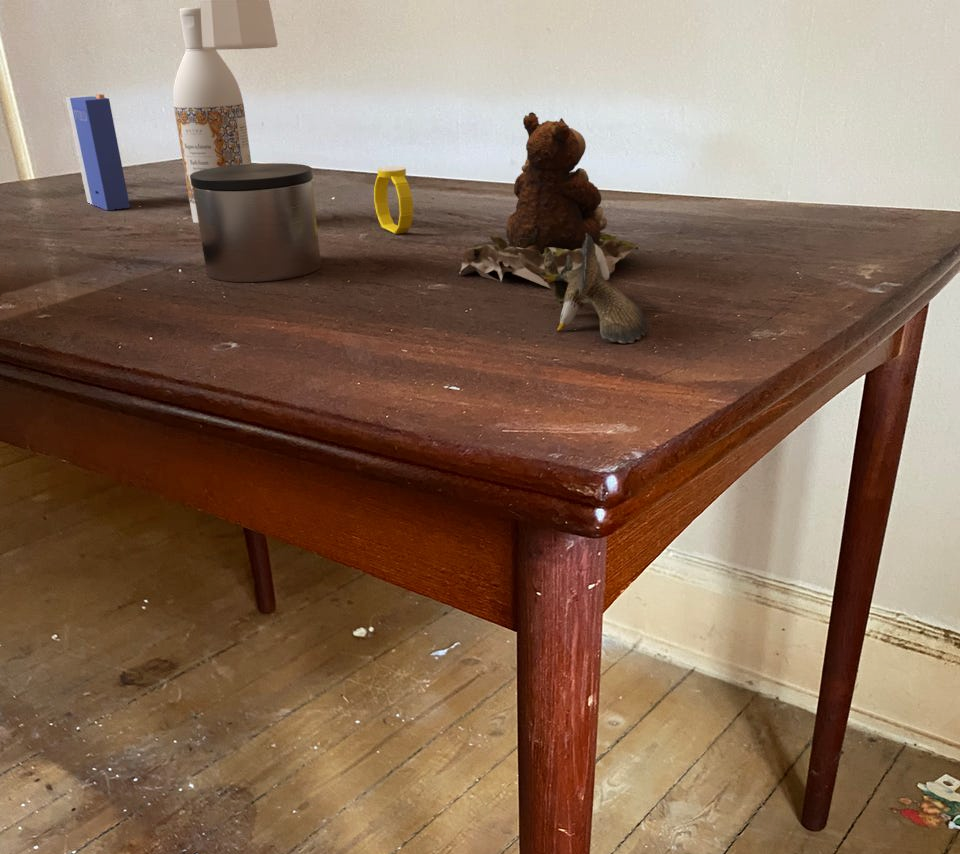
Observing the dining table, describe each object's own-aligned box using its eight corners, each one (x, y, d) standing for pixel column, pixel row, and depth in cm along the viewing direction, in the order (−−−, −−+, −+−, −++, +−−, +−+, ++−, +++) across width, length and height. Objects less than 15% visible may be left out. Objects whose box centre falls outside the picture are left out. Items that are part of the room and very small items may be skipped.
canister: (181, 277, 91) (163, 177, 87) (254, 254, 98) (241, 161, 94) (276, 286, 87) (262, 182, 82) (344, 261, 94) (335, 165, 90)
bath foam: (180, 229, 111) (143, 9, 100) (217, 217, 116) (184, 8, 106) (236, 231, 109) (204, 7, 98) (271, 219, 114) (243, 6, 104)
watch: (369, 229, 108) (364, 166, 104) (393, 225, 109) (389, 163, 106) (396, 237, 103) (391, 172, 100) (421, 234, 104) (417, 169, 101)
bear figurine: (671, 261, 90) (681, 102, 83) (556, 295, 81) (557, 120, 75) (552, 243, 98) (552, 98, 92) (435, 272, 89) (427, 113, 83)
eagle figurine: (494, 308, 73) (563, 310, 66) (533, 211, 73) (607, 201, 65) (576, 354, 77) (649, 360, 70) (614, 262, 77) (692, 258, 69)
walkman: (130, 208, 124) (108, 94, 118) (107, 211, 123) (84, 96, 117) (109, 200, 130) (87, 92, 124) (87, 203, 129) (63, 93, 122)
